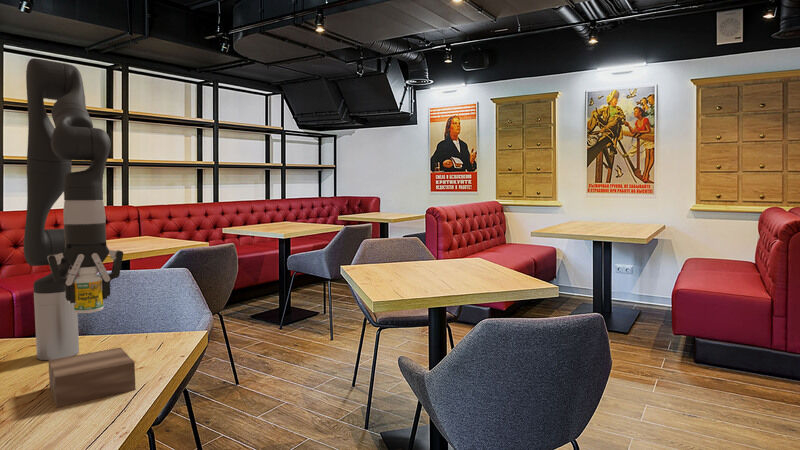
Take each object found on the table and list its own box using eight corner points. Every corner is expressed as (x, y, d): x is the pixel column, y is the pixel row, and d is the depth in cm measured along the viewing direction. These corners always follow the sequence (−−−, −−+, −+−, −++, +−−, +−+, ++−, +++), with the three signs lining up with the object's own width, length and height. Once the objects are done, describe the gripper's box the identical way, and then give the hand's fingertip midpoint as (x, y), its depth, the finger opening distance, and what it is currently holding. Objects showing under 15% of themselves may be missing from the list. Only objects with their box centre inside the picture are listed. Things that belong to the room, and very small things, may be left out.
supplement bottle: (102, 307, 111) (101, 264, 111) (104, 311, 107) (102, 266, 106) (73, 310, 108) (72, 266, 108) (74, 315, 104) (72, 269, 103)
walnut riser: (49, 387, 109) (48, 360, 109) (121, 372, 118) (120, 347, 118) (56, 407, 98) (55, 377, 98) (135, 389, 107) (134, 362, 107)
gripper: (119, 220, 114) (122, 293, 115) (42, 222, 105) (45, 302, 106) (126, 221, 108) (129, 298, 109) (45, 223, 99) (49, 308, 100)
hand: (88, 300), depth 107 cm, fingers closed on supplement bottle, 5 cm apart
